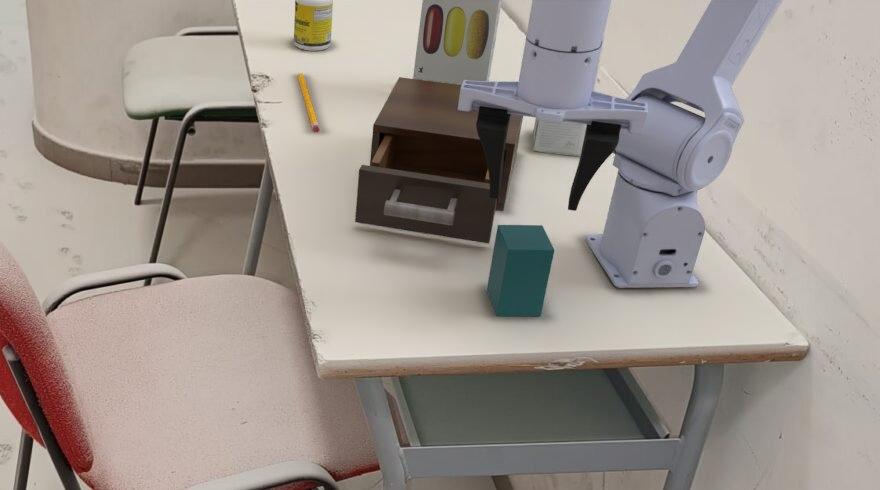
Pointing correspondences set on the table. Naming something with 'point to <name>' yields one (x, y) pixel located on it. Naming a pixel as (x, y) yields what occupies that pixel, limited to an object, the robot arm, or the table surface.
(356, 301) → the table surface
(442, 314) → the table surface
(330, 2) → the supplement bottle
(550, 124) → the syrup box
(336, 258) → the table surface
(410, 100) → the cabinet
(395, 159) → the drawer
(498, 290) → the teal rectangular block
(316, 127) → the pencil
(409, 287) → the table surface
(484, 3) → the supplement box
